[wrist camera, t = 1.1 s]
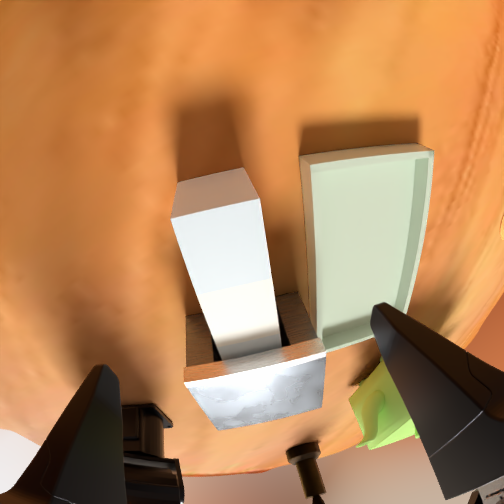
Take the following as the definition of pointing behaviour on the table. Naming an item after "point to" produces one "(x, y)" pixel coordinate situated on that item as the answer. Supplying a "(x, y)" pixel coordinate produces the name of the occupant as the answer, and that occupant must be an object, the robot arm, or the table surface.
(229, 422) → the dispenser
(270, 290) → the white square column
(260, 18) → the table surface
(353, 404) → the kettle
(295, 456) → the dark turned peg
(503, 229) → the beer glass
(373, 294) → the dish
